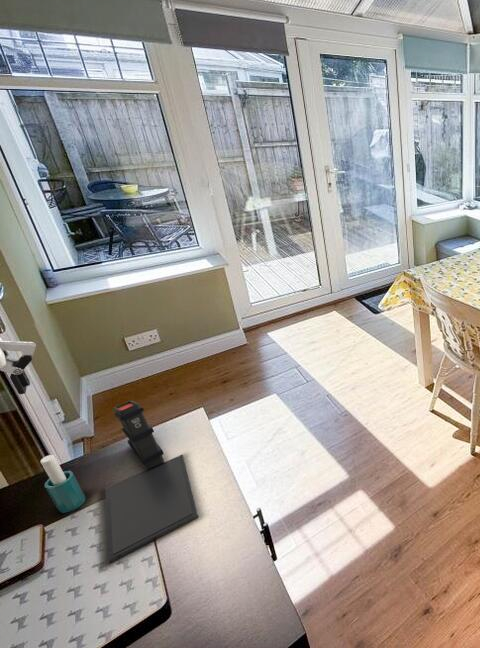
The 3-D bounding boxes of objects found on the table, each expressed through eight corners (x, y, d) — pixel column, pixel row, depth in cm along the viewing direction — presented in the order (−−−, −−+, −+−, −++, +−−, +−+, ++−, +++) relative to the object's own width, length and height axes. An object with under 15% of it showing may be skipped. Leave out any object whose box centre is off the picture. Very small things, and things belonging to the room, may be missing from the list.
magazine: (148, 475, 87) (117, 412, 85) (139, 465, 95) (110, 408, 93) (170, 463, 90) (140, 402, 88) (158, 455, 98) (131, 399, 96)
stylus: (65, 508, 81) (39, 464, 76) (65, 501, 82) (40, 458, 77) (78, 502, 82) (53, 459, 77) (78, 496, 83) (54, 453, 78)
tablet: (109, 563, 73) (107, 560, 72) (106, 491, 85) (104, 487, 85) (198, 517, 81) (197, 513, 80) (183, 457, 93) (182, 454, 93)
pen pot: (58, 516, 80) (43, 491, 77) (59, 503, 82) (45, 478, 80) (85, 504, 82) (72, 480, 79) (85, 492, 85) (72, 467, 82)
